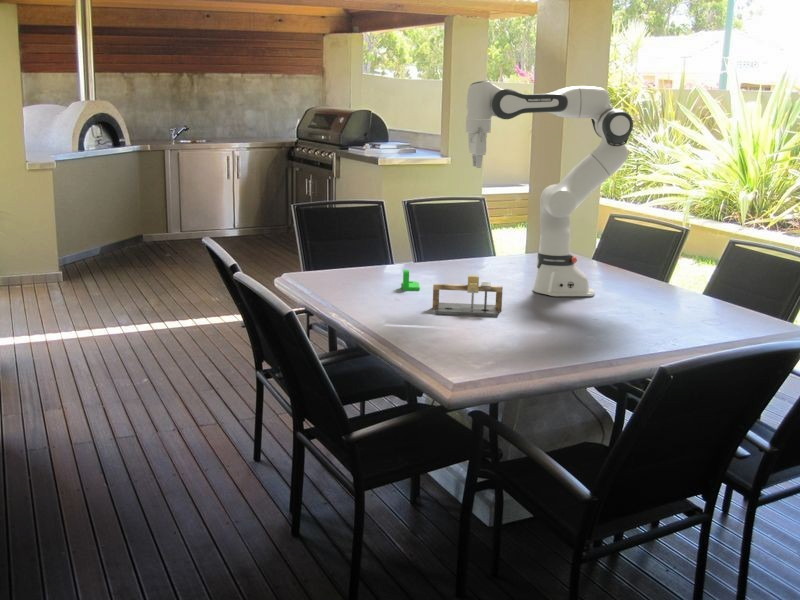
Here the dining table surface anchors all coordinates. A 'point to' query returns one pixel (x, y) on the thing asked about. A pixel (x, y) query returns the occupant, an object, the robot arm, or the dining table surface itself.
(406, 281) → the mechanical part
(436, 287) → the wooden frame rack
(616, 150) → the robot arm
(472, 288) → the slider leg
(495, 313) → the bolt plate
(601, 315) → the dining table surface
